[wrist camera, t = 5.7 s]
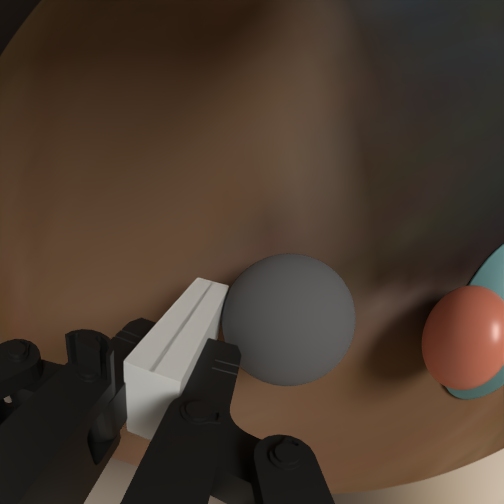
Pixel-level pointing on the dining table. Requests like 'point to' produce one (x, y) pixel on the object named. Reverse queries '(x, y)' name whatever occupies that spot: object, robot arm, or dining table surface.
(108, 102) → the dining table surface
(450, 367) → the object ball
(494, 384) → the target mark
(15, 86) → the dining table surface
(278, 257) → the gray ball
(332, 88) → the dining table surface
